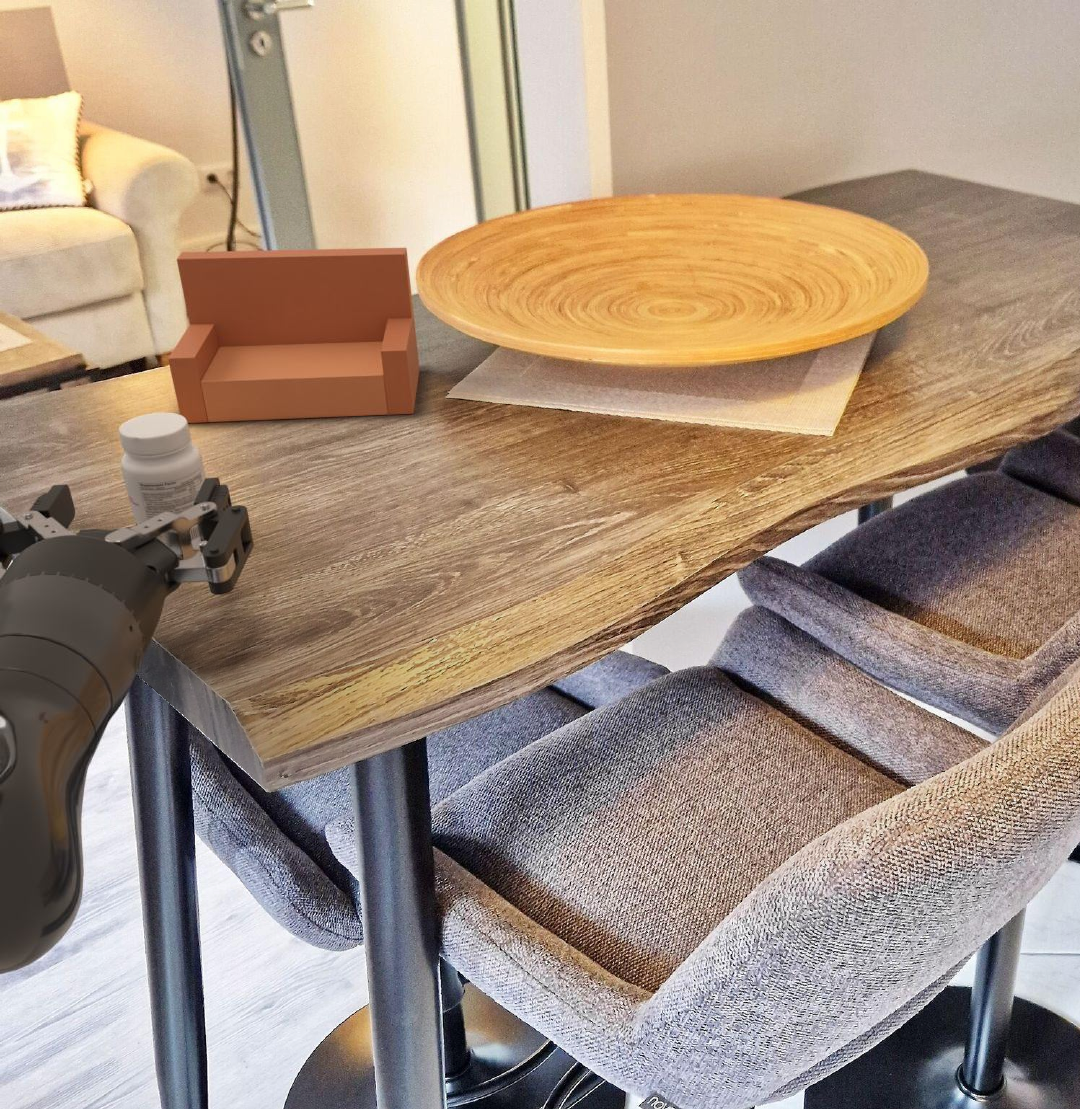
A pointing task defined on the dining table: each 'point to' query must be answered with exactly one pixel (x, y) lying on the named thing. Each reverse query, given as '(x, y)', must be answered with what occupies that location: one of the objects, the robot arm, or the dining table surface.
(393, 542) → the dining table surface
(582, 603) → the dining table surface
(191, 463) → the pill bottle
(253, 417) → the couch
